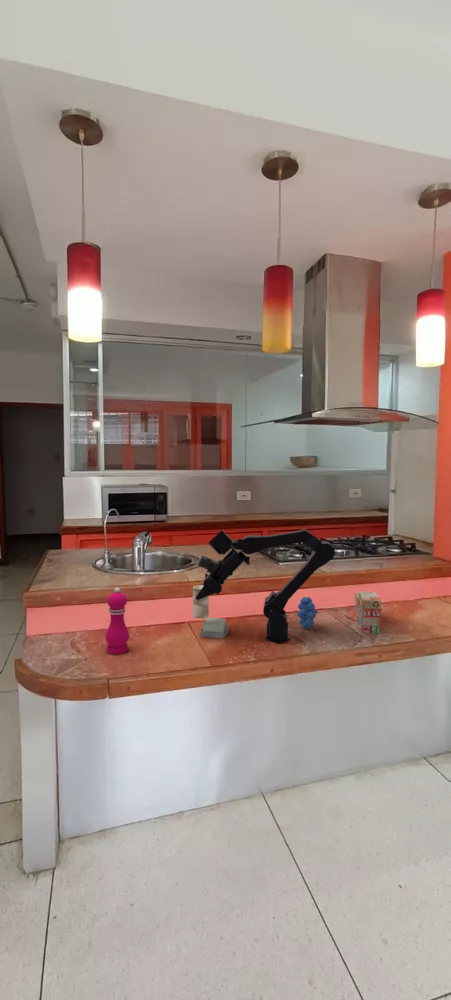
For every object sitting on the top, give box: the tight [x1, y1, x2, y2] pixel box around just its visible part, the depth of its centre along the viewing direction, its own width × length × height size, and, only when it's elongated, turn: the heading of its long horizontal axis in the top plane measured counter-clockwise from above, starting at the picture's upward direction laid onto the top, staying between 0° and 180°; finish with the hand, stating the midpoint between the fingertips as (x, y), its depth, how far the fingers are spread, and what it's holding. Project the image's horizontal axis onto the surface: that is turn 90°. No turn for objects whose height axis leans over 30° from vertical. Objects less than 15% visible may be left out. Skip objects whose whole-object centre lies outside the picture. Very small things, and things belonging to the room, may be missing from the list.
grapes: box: [297, 596, 318, 630], centre depth 169 cm, size 12×7×12 cm, turn 15°
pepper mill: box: [104, 587, 130, 655], centre depth 146 cm, size 7×7×20 cm
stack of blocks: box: [354, 590, 382, 635], centre depth 174 cm, size 21×6×12 cm, turn 171°
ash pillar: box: [192, 584, 210, 619], centre depth 159 cm, size 5×5×10 cm
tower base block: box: [200, 625, 230, 639], centre depth 163 cm, size 8×8×2 cm
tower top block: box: [202, 617, 227, 632], centre depth 163 cm, size 7×7×2 cm
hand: (196, 596), depth 159 cm, fingers closed on ash pillar, 5 cm apart
